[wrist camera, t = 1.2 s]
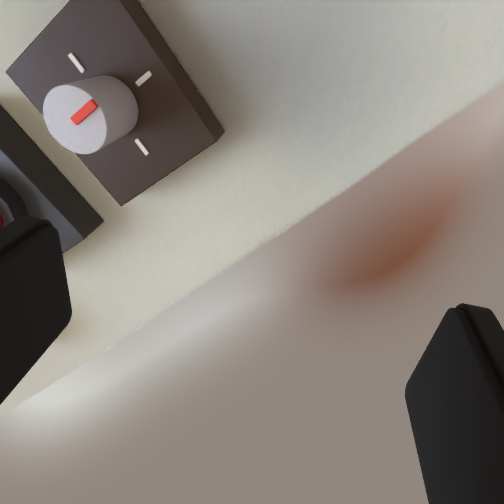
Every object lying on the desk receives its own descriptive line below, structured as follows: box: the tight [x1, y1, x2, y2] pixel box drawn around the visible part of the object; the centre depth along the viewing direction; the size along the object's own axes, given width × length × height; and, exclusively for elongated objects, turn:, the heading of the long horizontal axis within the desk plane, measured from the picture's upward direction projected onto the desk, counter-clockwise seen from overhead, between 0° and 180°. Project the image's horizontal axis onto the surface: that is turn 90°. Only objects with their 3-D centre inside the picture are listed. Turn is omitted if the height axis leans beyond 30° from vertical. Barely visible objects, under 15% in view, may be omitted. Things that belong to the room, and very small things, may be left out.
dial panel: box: [6, 0, 225, 206], centre depth 30 cm, size 13×11×3 cm
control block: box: [0, 106, 103, 254], centre depth 35 cm, size 14×11×6 cm
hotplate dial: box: [43, 75, 138, 154], centre depth 26 cm, size 4×4×5 cm
